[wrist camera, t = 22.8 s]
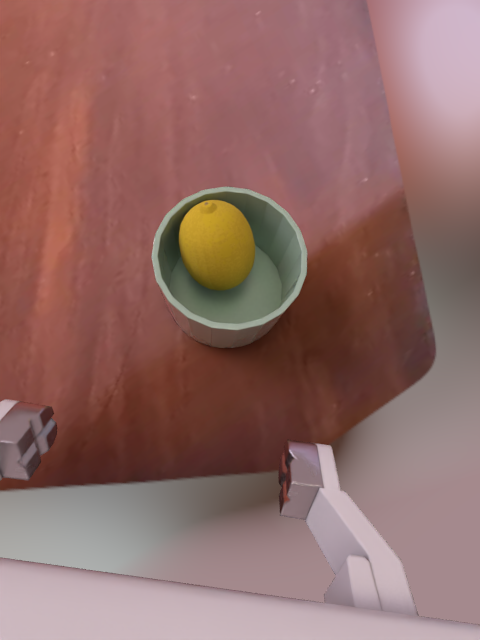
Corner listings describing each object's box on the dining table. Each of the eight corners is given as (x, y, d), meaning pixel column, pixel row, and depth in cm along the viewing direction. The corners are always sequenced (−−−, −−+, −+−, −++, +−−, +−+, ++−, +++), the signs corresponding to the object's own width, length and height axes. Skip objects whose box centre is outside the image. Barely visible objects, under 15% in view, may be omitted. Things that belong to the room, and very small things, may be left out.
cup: (282, 353, 28) (305, 336, 21) (158, 342, 27) (141, 321, 20) (286, 243, 30) (308, 196, 24) (174, 230, 30) (163, 178, 23)
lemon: (203, 257, 30) (178, 177, 23) (263, 261, 28) (255, 177, 22) (186, 307, 27) (152, 231, 20) (253, 312, 25) (240, 234, 19)
